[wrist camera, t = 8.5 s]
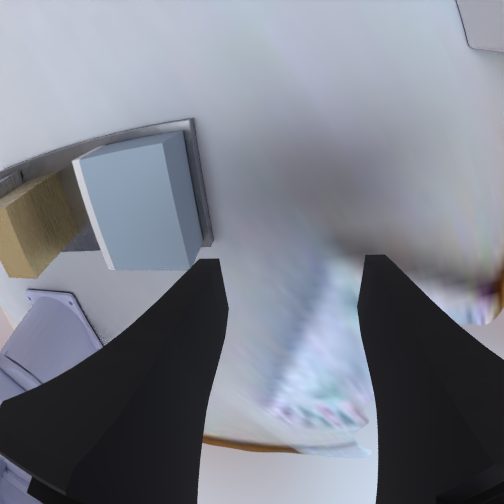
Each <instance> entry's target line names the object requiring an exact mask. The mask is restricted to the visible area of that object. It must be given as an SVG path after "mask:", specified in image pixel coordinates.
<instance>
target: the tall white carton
mask: <svg viewBox="0 0 504 504" xmlns="http://www.w3.org/2000/svg"><path fill="white" fill-rule="evenodd" d="M456 1H457V4H458V7H459V10H460V14H461V17H462V21H463V24H464V28H465V32H466V36H467V40H468V44H469V46H470V47H471V48H474V49H483V50H491V51H497V52H504V0H456Z"/></svg>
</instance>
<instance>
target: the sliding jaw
mask: <svg viewBox="0 0 504 504" xmlns="http://www.w3.org/2000/svg"><path fill="white" fill-rule="evenodd" d="M72 163H73V167H74V171H75V174H76V178H77V181H78V185H79V188H80V191H81V195H82V198H83V201H84V204H85V207H86V210H87V213H88V216H89V219H90V222H91V225H92V228H93V230H94V233H95V236H96V239H97V241H98V244H99V247H100V249H101V252H102V254H103V257H104V259H105V262H106V264H107V267H108V269H109V270H189V269H190V268H191V267H192V265H193V263H194V261H195V259H196V256H197V254H198V252H199V249H200V247H201V245H202V243H203V238H202V233H201V228H200V223H199V218H198V213H197V208H196V202H195V197H194V192H193V186H192V181H191V175H190V170H189V164H188V159H187V153H186V147H185V141H184V135H183V130H182V131H176V132H169V133H163V134H158V135H152V136H147V137H142V138H137V139H132V140H127V141H122V142H118V143H113V144H109V145H102V146H98V147H96V148H95V149H93V150H91V151H89V152H87V153H85V154H83V155H82V156H80V157H78V158H76V159H75V160H73V161H72Z"/></svg>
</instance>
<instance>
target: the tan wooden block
mask: <svg viewBox="0 0 504 504" xmlns="http://www.w3.org/2000/svg"><path fill="white" fill-rule="evenodd" d="M77 235H78V231H77V228H76V226H75V223H74V220H73V217H72V214H71V212H70V209H69V206H68V203H67V200H66V197H65V194H64V190H63V187H62V184H61V181H60V177H59V174H58V172H55V173H51V174H48V175H44V176H41V177H37V178H34V179H30V180H28V181H27V182H25V183H24V184H22V185H21V186H19V187H18V188H16V189H15V190H13V191H12V192H10V193H9V194H7V195H6V196H4V197H3V198H2V199H0V260H1V262H2V264H3V266H4V268H5V270H6V272H7V274H8V276H9V277H14V278H32V279H37V278H38V277H39V275H40V274H41V273H42V272H43V271H44V270H45V269H46V268H47V266H48V265H49V264H50V263H51V262H52V261H53V260H54V259H55V258H56V257H57V255H58V254H59V253H60V252H61V251H62V250H63V249H64V248H65V247H66V246H67V245H68V244H69V243H70V242H71V241H72V240H73V239H74V238H75V237H76V236H77Z"/></svg>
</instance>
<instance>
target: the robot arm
mask: <svg viewBox="0 0 504 504" xmlns="http://www.w3.org/2000/svg"><path fill="white" fill-rule="evenodd" d="M25 295H26V297H27V298H28V300H29V302H30V303H31V305H32V307H31V309H30V310H29V311H28V313H27V314H26V315H25V317H24V318H23V319H22V321H21V322H20V324H19V325H18V326H17V328H16V329H15V331H14V332H13V334H12V335H11V336H10V338H9V340H8V341H7V343H6V344H5V345H4V347H3V349H2V350H1V352H0V504H197V496H198V479H199V467H200V456H201V448H202V439H203V431H204V424H205V417H206V410H207V405H208V401H209V396H210V392H211V389H212V385H213V381H214V377H215V374H216V370H217V366H218V362H219V359H220V355H221V351H222V347H223V343H224V339H225V334H226V327H227V319H228V311H229V307H228V302H227V297H226V292H225V287H224V282H223V277H222V272H221V266H220V261H219V259H199V260H198V261H197V262H196V263H195V264H194V265H193V266H192V267H191V268H190V269H189V270H188V271H187V272H186V273H185V274H184V275H183V276H182V277H181V278H180V279H179V280H178V281H177V282H176V283H175V284H174V285H173V286H172V287H171V288H170V289H169V290H168V291H167V292H166V293H165V294H164V295H163V296H162V297H161V298H160V299H159V300H158V301H157V302H156V303H155V304H154V305H152V306H151V307H150V308H149V309H148V310H147V311H146V312H145V313H144V314H143V315H142V316H140V317H139V318H138V319H137V320H136V321H135V322H134V323H133V324H132V325H130V326H129V327H128V328H127V329H126V330H124V331H123V332H122V333H121V334H120V335H118V336H117V337H116V338H114V339H113V340H112V341H110V342H109V343H108V344H106V345H105V346H104V347H103V346H102V344H101V343H100V341H99V340H98V338H97V336H96V335H95V333H94V331H93V330H92V328H91V326H90V325H89V323H88V321H87V320H86V318H85V316H84V314H83V313H82V311H81V309H80V307H79V305H78V304H77V302H76V300H75V298H74V296H73V295H72V294H70V293H61V292H49V291H37V290H26V291H25ZM357 308H358V316H359V324H360V332H361V337H362V342H363V346H364V350H365V354H366V359H367V363H368V367H369V372H370V376H371V381H372V386H373V391H374V395H375V402H376V409H377V423H378V424H377V425H378V484H377V496H376V504H504V360H503V359H502V358H500V357H499V356H498V355H496V354H495V353H493V352H492V351H490V350H489V349H488V348H486V347H485V346H484V345H482V344H481V343H480V342H479V341H478V340H476V339H475V338H474V337H473V336H471V335H470V334H469V333H468V332H467V331H465V330H464V329H463V328H462V327H460V326H459V325H458V324H457V323H456V322H455V321H454V320H452V319H451V318H450V317H449V316H448V315H447V314H446V313H445V312H444V311H443V310H442V309H440V308H439V307H438V306H437V305H436V304H435V303H434V302H433V301H432V300H431V299H430V298H429V297H428V296H427V295H426V294H425V293H424V292H423V291H422V290H421V289H420V288H419V287H418V286H417V285H416V284H415V283H414V282H413V281H412V280H411V279H410V278H409V277H408V276H407V275H406V274H405V273H404V272H402V271H401V270H400V269H399V268H398V267H397V266H396V265H395V264H394V263H393V262H392V261H391V260H390V259H389V258H388V257H387V256H386V255H365V262H364V269H363V275H362V282H361V288H360V294H359V299H358V305H357Z"/></svg>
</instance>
